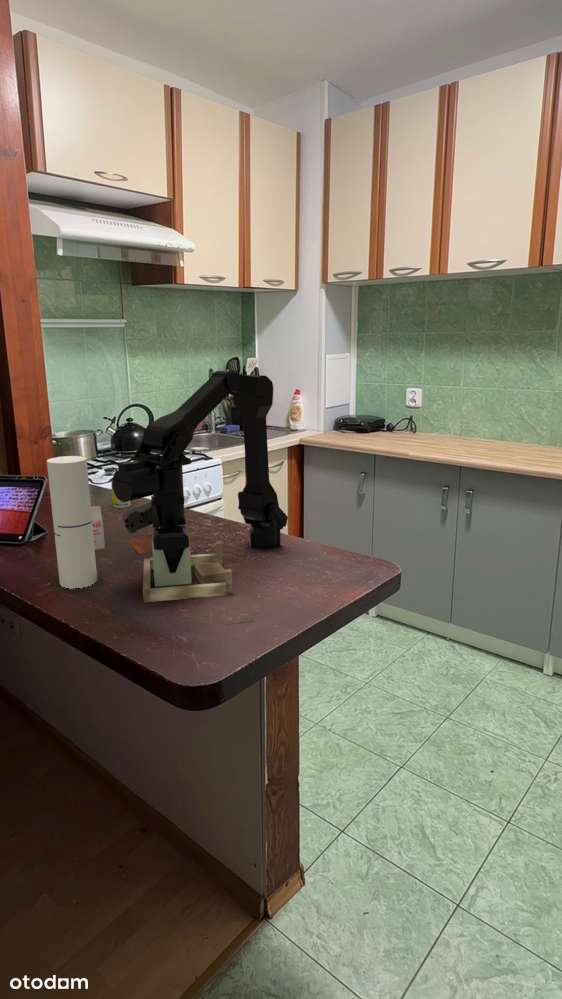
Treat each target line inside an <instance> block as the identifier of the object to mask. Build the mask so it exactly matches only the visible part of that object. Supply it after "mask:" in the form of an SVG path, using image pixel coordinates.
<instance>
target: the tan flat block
mask: <svg viewBox="0 0 562 999" xmlns="http://www.w3.org/2000/svg"><path fill="white" fill-rule="evenodd" d="M193 567H194V576H195V577H196V579H197V581H198V582H199V584H211V583H223V582H225V570H226V569H225V568H224V567H223V566H222V564H220V563H219V562H217V563H210V564H202V565H194V566H193Z"/></svg>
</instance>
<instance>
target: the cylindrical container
mask: <svg viewBox="0 0 562 999" xmlns="http://www.w3.org/2000/svg"><path fill="white" fill-rule="evenodd" d="M46 466H47V475H48V484H49V485H48V486H49V493H50V494H49V495H50V504H51V514H52V520H53V521H52V523H53V531H54V532H53V533H54V541H55V550H56V560H57V561H56V562H57V570H58V578H59V586H60V585H61V586H62V587H61V586H60V587H61V588H63V587H65V588H64V589H66V588H69V589H68V590H76V589H75V588H80V589H84V588H83V587H85V588H88V586H89V587H91V586H93V585H95V584H96V583H97V582H98V572H97V562H96V553H95V552H96V551H95V549H94V537H93V526H92V515H91V507H92V505H91V504H92V503H91V496H90V483H89V482H90V481H89V473H88V472H89V471H88V470H89V469H88V462H87V457H86V456H83V455H82V456H81V455H66V456H65V455H63V456H56V457H52V458H48V459H47V460H46ZM96 581H97V582H96ZM95 582H96V583H95ZM94 583H95V584H94ZM92 584H93V585H92ZM73 588H74V589H73Z"/></svg>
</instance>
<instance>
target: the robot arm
mask: <svg viewBox="0 0 562 999" xmlns="http://www.w3.org/2000/svg"><path fill="white" fill-rule="evenodd" d="M229 395H232V397H233V398H232V399H233V402H234V405H235V408H236V409H237V411H238V413H239V415H240V416H241V418H242V428H243V445H244V447H243V448H244V461H245V475H246V484H245V486H244V487H243V490H241V491H238V492H237V499H238V506H237V508H238V510H239V511H240V514H241V516H242V518H243V520H244V524H246V525H250V530H249V531H248V545H249V547H250V549H260V550H270V549H275V548H277V547H281V530H283V529H284V527H286V526H287V523H288V520H289V519H288V515H287V514H286V513H285V512H284V511H283V510H282V509H281V508H280V505H279V500H278V494H277V492H276V490H275V489H274V487H273V485H272V483H271V482H270V470H269V465H270V464H269V450H268V448H269V447H268V432H267V431H268V429H267V416H268V414H269V412H270V410H271V408H272V407H273V404H274V403H273V401H274V384H273V381H272V380H271V379H270V378H269V377H268V376H266V375H259V374H242V373H241V374H240V373H237V372H235V371H233V370H216V371H214V372H212V373H211V375H210V377H209V379H207V380H206V382H204V383H203V384H202V385H201V386H200V387H199V388H198V389H197V390H196V391H195V392H194V393H193V394H192V395H191V396H190V397H189V398H188V399H186V400H185V401H184V402H183V403H182V404H181V405H180V406H179V407H178V408H177V409H176V410H174V411H173V412H170V413H169V414H166V415H162V416H161V417H159V418H157V419H156V420H154V421H152V422H151V423H149V424H148V425H147V426H146V427H145V429H144V431H143V437H142V438H141V441H140V443H139V445H138V447H137V449H136V451H135V452H134V455H133V457H132V460H131V461H121V462H118V464H117V468H118V469H117V470H115V472H114V473H113V474H114V476H113V475H112V480H111V483H112V487H111V489H112V488H113V491H114V493H115V495H116V497H117V498H118V499H119V500H120V501H122V502H127V501H131V502H132V501H134V500H138V499H144V498H146V497H150V496H151V497H150V498H151V500H150V502H148V503H145V504H142V505H139V506H137V507H134V508H132V509H130V510H127V511H125V512H123V514H122V520H123V524H124V528H126V529H127V531H128V534H131V535H133V534H134V533H137V532H138V531H139V530H142V529H144V528H147V527H149V526H150V525H152V528H153V529H154V532H153V533H152V534H153V541H154V549H155V550H163V551H164V555H165V558H166V561H167V565H168V568H169V572H170V573H175V572H176V570H177V567H178V565H179V562H180V560H181V557H182V555H183V552H184V550H185V548H188V547H189V538H190V533H189V530H187V529H186V523H187V522H186V515H185V514H186V513H185V493H184V481H183V480H184V473H183V472H184V471H183V466H187V465H190V464H192V460H191V459H190V458H189V457H187V456H186V455H185V454H184V452H185V451H186V450H187V449H188V446H190V444H191V442H192V441H193V439H194V434H195V430H196V429H197V427H199V425H200V424H201V423H202V422H203V421H204V420H205V419H206V418H207V417H208V416H209V415H210V414H211V413H212V412H213V411H214V410H215V409H216V408H217V407H218V406H220V404H222V402H223V401H225V399H226V398H227V397H228V396H229ZM188 533H189V534H188Z"/></svg>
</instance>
